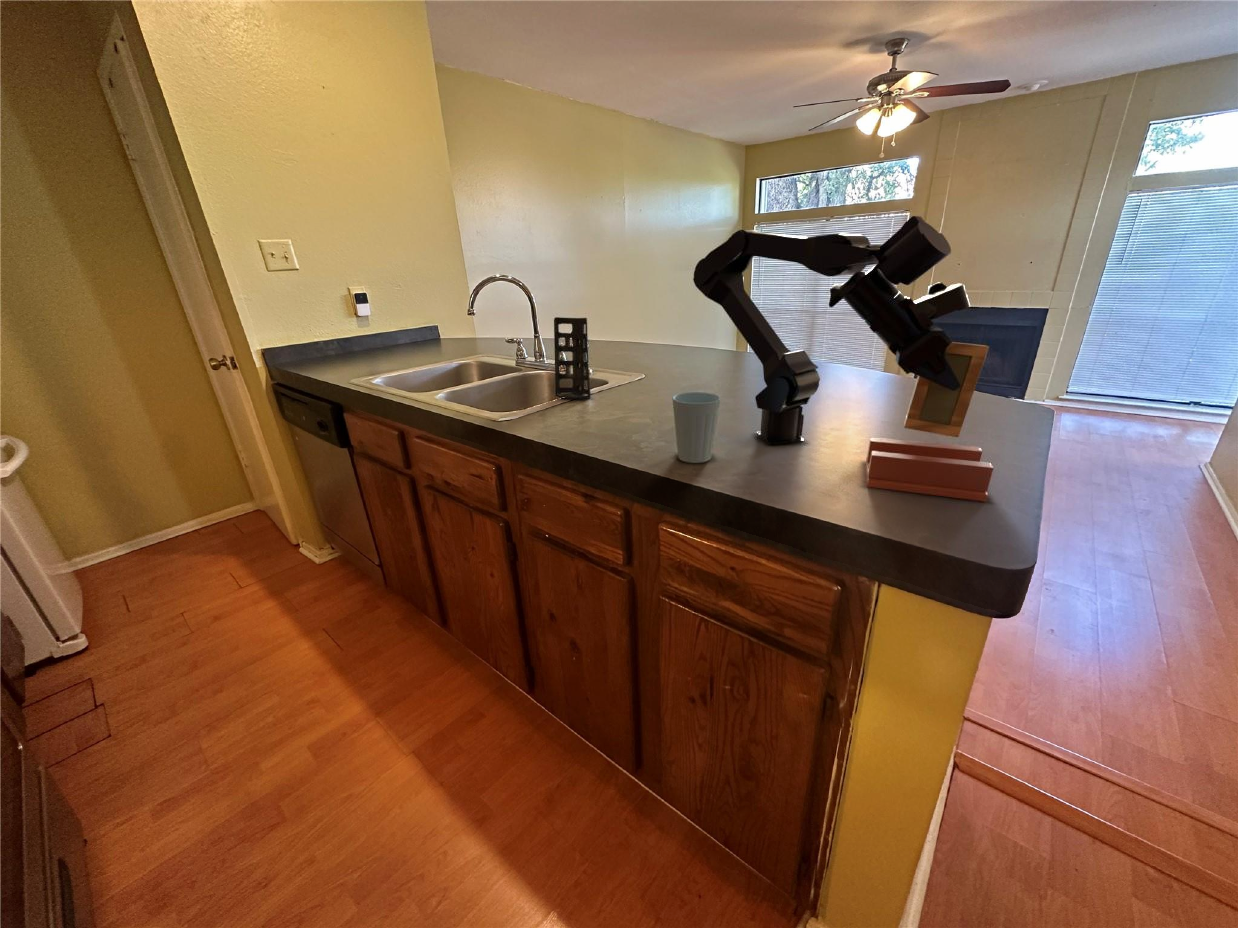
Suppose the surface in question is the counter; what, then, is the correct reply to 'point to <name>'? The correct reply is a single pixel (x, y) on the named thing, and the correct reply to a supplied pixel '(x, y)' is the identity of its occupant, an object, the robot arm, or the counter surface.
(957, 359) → the frame
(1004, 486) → the counter surface
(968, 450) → the slot stand
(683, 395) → the cup
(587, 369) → the holder
